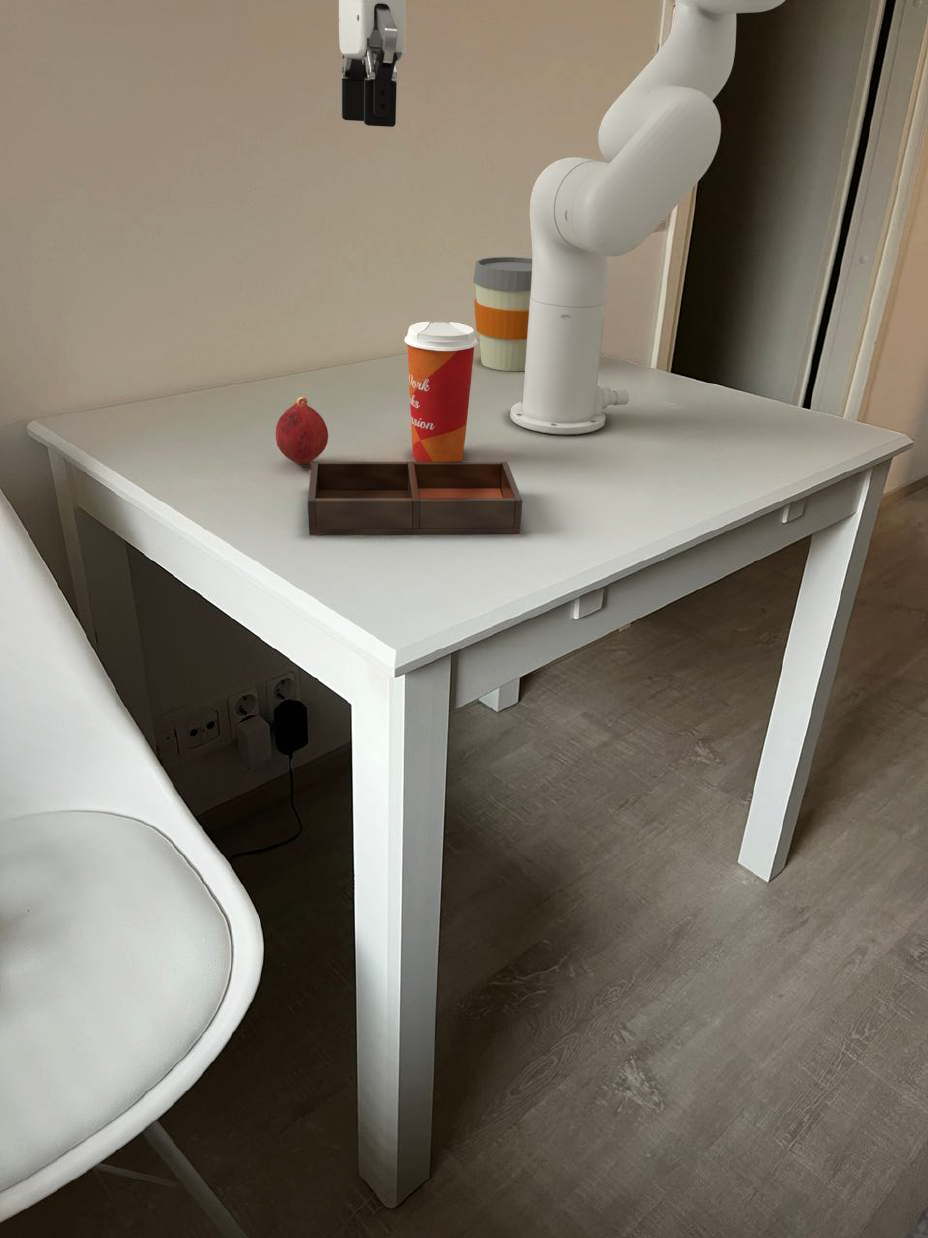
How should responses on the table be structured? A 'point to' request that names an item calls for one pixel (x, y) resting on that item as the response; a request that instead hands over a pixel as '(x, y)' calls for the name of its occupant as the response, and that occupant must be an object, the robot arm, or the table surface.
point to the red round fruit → (301, 433)
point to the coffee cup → (439, 388)
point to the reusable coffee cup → (503, 310)
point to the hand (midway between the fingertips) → (367, 122)
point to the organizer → (412, 498)
